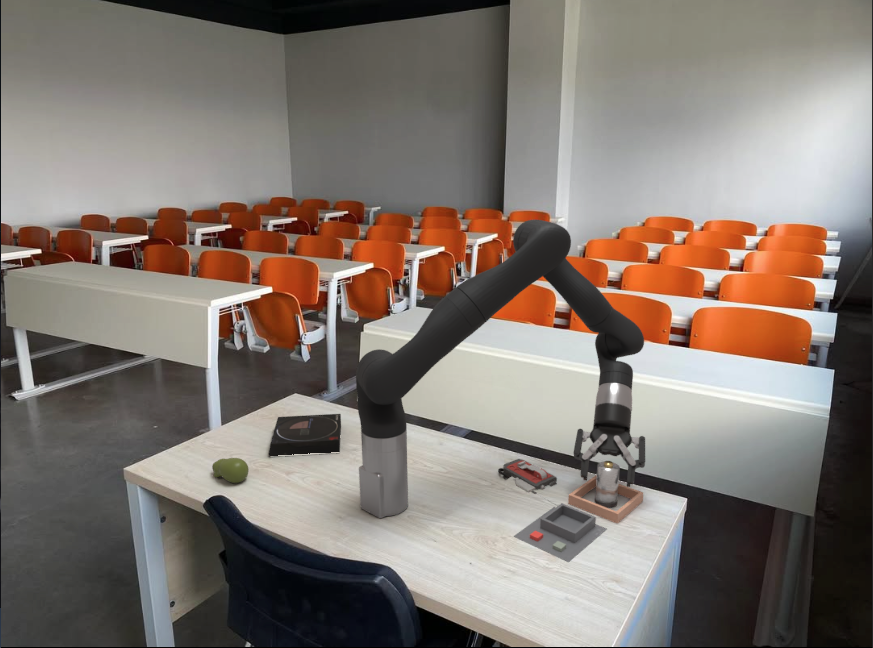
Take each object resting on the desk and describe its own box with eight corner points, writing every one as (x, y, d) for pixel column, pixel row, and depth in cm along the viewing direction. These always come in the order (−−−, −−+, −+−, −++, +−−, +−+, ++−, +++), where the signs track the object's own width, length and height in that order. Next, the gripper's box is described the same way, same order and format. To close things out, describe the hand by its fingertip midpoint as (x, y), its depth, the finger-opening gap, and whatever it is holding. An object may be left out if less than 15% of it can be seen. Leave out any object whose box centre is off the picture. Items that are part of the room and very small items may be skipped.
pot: (616, 530, 129) (617, 514, 128) (567, 510, 137) (568, 494, 136) (642, 507, 137) (643, 492, 136) (594, 489, 144) (595, 475, 143)
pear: (230, 465, 145) (203, 460, 151) (235, 488, 146) (208, 482, 152) (251, 456, 149) (224, 451, 155) (255, 478, 150) (228, 472, 156)
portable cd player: (276, 430, 177) (275, 417, 176) (341, 427, 178) (340, 413, 177) (268, 459, 161) (267, 443, 160) (339, 454, 163) (338, 439, 162)
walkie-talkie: (490, 478, 150) (555, 516, 135) (490, 460, 149) (556, 497, 134) (518, 467, 155) (584, 502, 140) (519, 450, 154) (585, 483, 139)
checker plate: (568, 569, 118) (569, 552, 117) (513, 543, 125) (513, 526, 125) (606, 535, 128) (607, 519, 127) (553, 513, 135) (554, 498, 134)
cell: (610, 514, 134) (613, 470, 131) (590, 506, 137) (593, 463, 134) (620, 505, 137) (624, 462, 134) (601, 498, 140) (604, 455, 137)
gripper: (578, 398, 140) (570, 472, 133) (649, 405, 136) (644, 482, 129) (580, 412, 147) (571, 483, 139) (647, 419, 142) (642, 493, 135)
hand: (606, 482), depth 134 cm, fingers open, 8 cm apart
